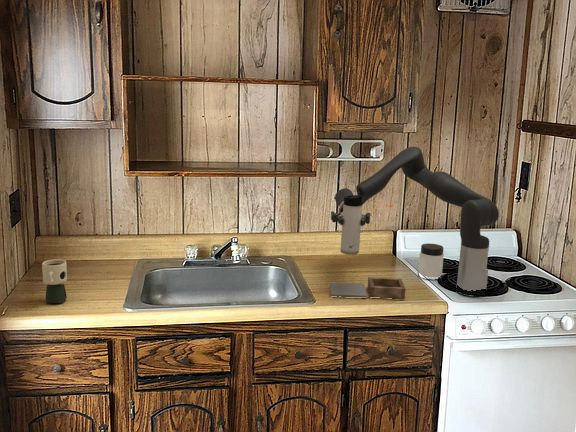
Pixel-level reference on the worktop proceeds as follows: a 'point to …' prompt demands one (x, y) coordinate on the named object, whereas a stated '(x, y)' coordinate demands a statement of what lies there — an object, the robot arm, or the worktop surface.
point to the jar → (431, 260)
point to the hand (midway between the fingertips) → (352, 222)
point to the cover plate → (347, 290)
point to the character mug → (55, 280)
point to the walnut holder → (386, 288)
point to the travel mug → (351, 224)
